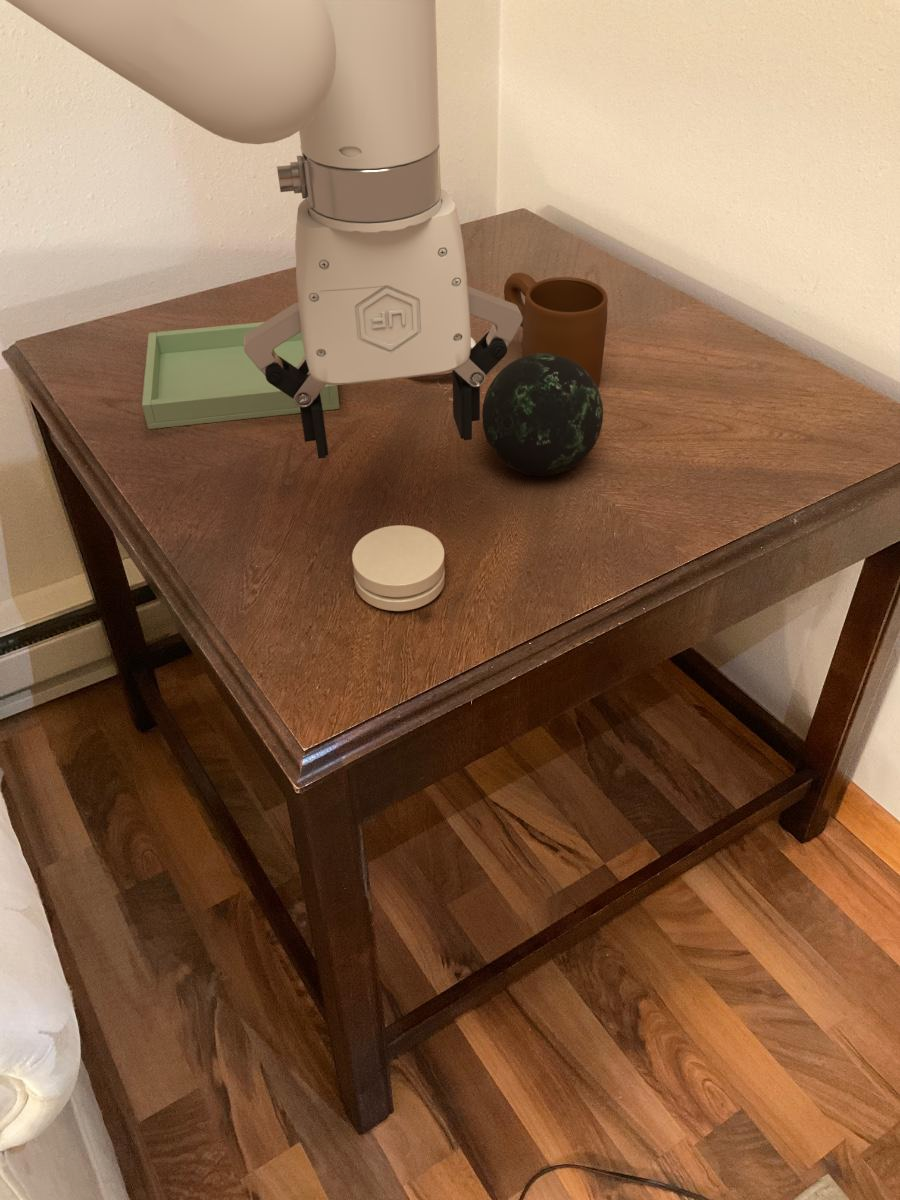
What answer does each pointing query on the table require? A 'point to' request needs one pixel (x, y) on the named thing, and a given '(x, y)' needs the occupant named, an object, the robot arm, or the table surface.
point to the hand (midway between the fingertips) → (392, 437)
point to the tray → (215, 378)
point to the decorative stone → (542, 414)
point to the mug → (562, 318)
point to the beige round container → (399, 567)
